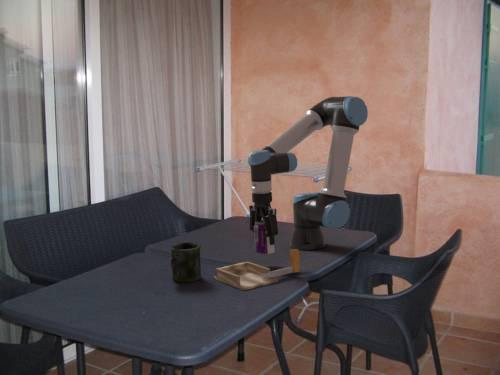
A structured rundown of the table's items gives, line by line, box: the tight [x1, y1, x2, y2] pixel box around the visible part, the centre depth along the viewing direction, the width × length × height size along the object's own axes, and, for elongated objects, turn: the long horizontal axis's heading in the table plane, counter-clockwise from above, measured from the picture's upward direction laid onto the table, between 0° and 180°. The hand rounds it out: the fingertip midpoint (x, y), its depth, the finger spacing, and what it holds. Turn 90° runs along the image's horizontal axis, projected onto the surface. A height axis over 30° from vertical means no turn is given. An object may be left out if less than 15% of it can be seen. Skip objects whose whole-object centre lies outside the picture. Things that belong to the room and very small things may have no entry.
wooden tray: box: [213, 260, 279, 291], centre depth 212 cm, size 15×18×4 cm
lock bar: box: [262, 248, 300, 280], centre depth 213 cm, size 16×2×8 cm, turn 127°
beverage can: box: [253, 219, 269, 255], centre depth 229 cm, size 7×7×12 cm
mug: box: [169, 241, 202, 283], centre depth 214 cm, size 11×15×12 cm
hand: (264, 250), depth 230 cm, fingers closed on beverage can, 7 cm apart
